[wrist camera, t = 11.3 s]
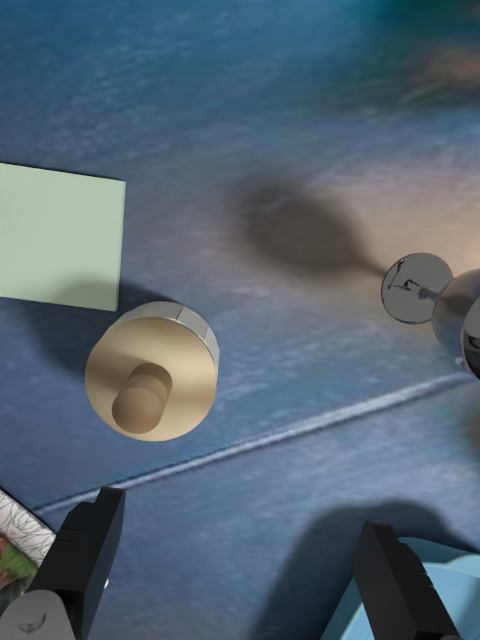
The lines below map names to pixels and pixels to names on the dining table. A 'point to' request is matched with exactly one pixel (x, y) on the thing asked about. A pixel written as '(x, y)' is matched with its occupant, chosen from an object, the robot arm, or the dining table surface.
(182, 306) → the bowl
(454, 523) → the dining table surface
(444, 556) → the casserole dish
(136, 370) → the lid
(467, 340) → the wine glass
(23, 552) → the cookie jar
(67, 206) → the mat
